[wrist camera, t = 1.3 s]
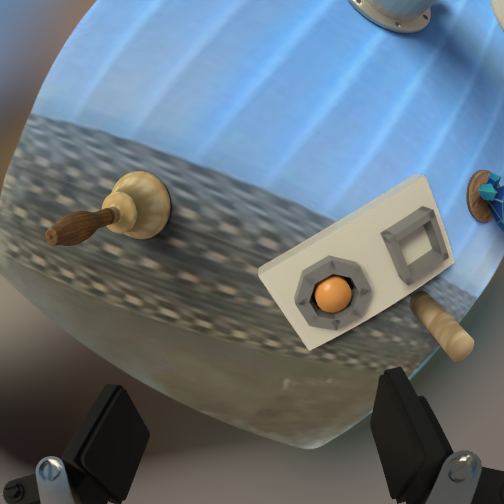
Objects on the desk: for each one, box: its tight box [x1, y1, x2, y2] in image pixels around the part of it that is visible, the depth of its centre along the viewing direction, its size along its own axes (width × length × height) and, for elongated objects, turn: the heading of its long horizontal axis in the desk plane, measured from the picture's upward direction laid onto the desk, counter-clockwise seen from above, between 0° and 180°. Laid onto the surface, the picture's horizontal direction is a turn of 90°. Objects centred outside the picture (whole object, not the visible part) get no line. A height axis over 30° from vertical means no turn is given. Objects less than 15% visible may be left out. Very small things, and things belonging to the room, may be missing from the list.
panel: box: [258, 174, 455, 351], centre depth 30 cm, size 22×12×5 cm, turn 123°
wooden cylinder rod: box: [410, 291, 474, 362], centre depth 28 cm, size 3×3×12 cm
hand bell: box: [46, 171, 171, 246], centre depth 24 cm, size 8×8×16 cm
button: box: [314, 274, 351, 313], centre depth 31 cm, size 4×4×2 cm
